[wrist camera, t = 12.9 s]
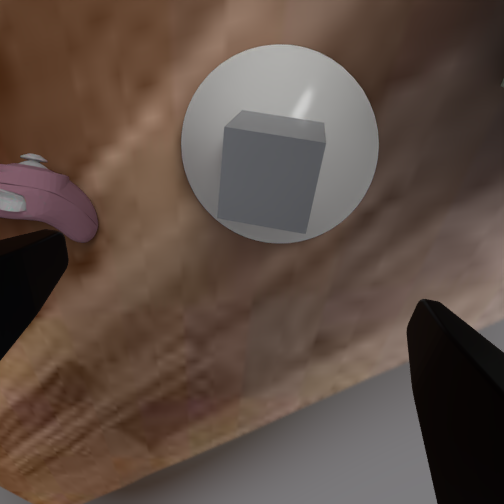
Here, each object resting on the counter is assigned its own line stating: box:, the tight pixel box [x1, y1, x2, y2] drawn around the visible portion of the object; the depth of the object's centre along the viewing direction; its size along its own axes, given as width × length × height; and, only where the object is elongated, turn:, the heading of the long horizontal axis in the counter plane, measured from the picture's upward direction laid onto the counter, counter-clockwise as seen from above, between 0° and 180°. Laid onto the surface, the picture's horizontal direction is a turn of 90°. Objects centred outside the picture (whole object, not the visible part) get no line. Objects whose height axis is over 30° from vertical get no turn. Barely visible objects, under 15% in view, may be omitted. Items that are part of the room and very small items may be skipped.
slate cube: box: [217, 110, 326, 234], centre depth 17 cm, size 4×4×4 cm
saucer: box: [181, 44, 379, 243], centre depth 19 cm, size 10×10×1 cm
